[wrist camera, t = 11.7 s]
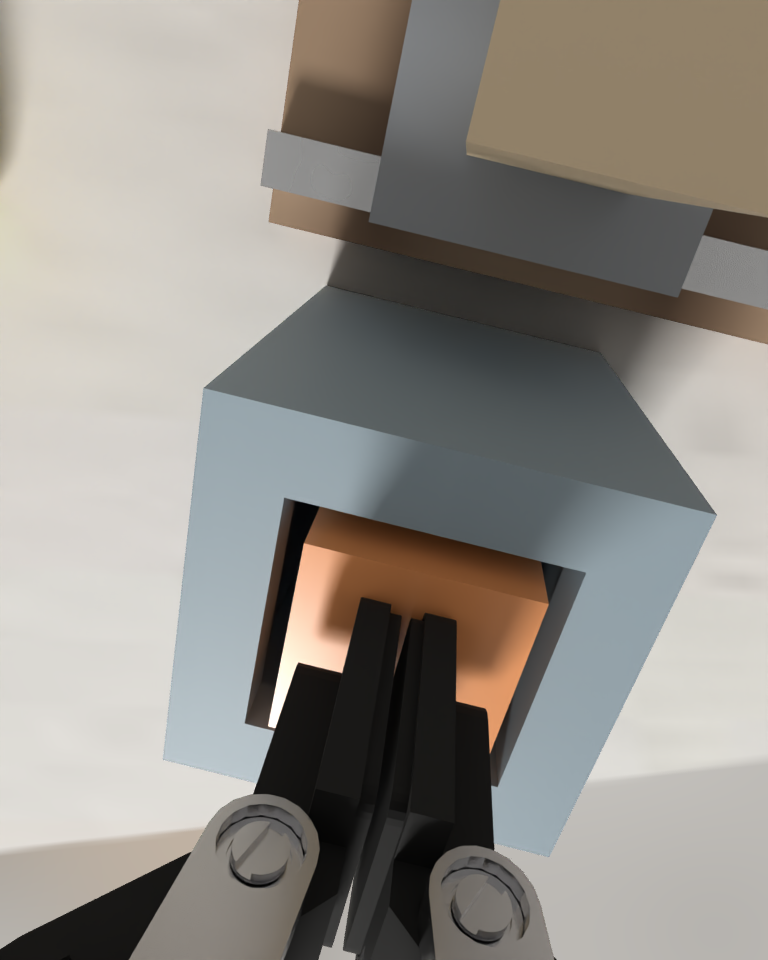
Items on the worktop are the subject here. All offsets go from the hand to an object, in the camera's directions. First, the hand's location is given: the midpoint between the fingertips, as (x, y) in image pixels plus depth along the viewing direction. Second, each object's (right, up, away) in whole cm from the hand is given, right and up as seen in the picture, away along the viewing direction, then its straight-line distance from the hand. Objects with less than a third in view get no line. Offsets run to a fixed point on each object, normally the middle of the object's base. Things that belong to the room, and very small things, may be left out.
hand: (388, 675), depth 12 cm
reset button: (+1, +1, +3) cm, 3 cm away
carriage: (+3, +11, +3) cm, 12 cm away
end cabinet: (+1, +4, +9) cm, 10 cm away
